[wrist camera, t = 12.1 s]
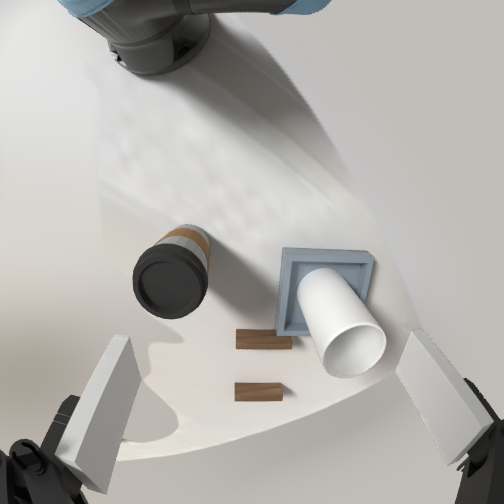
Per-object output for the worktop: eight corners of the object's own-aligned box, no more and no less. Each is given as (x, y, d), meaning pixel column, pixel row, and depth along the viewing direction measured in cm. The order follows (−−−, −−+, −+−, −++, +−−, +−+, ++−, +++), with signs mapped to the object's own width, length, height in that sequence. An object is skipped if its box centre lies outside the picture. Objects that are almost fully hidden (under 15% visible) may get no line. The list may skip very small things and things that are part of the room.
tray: (282, 247, 43) (285, 254, 40) (366, 250, 44) (374, 257, 41) (274, 325, 47) (276, 336, 45) (350, 324, 48) (356, 333, 45)
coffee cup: (203, 278, 44) (189, 334, 30) (155, 256, 43) (120, 304, 28) (225, 230, 42) (219, 271, 28) (174, 207, 40) (140, 236, 26)
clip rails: (236, 329, 47) (236, 343, 44) (288, 329, 48) (292, 343, 44) (234, 386, 52) (234, 401, 48) (279, 386, 53) (282, 400, 49)
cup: (354, 284, 45) (398, 340, 30) (323, 320, 47) (352, 385, 32) (319, 258, 43) (357, 311, 28) (286, 297, 45) (306, 364, 30)
